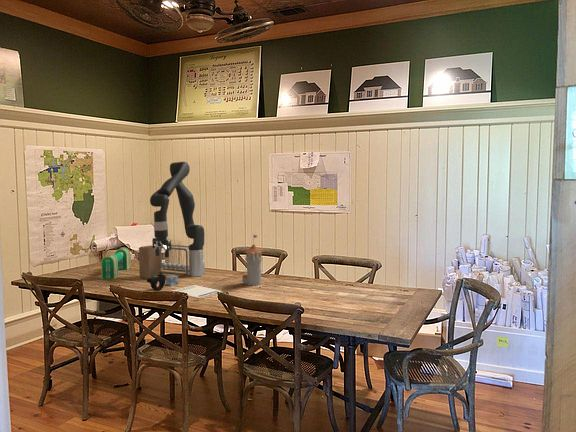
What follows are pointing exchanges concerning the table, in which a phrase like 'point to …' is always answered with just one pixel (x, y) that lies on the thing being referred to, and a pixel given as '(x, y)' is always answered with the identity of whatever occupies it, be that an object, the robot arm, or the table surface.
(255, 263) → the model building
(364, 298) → the table surface
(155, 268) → the block
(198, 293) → the letter
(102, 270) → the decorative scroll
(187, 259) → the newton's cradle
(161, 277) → the controller
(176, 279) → the cube
